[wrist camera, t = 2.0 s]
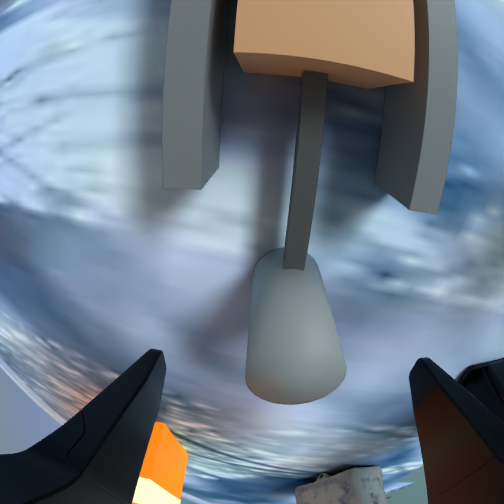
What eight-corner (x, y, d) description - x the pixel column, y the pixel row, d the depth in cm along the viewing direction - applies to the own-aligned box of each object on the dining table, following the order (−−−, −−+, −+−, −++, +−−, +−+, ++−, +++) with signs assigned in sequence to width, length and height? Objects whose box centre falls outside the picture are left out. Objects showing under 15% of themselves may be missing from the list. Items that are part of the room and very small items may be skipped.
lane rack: (397, 186, 11) (436, 214, 8) (190, 166, 11) (162, 188, 8) (407, -32, 6) (442, -59, 3) (209, -62, 6) (193, -102, 3)
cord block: (330, 306, 14) (354, 402, 9) (232, 300, 14) (217, 400, 9) (369, -26, 7) (429, -87, 1) (253, -43, 7) (244, -126, 2)
